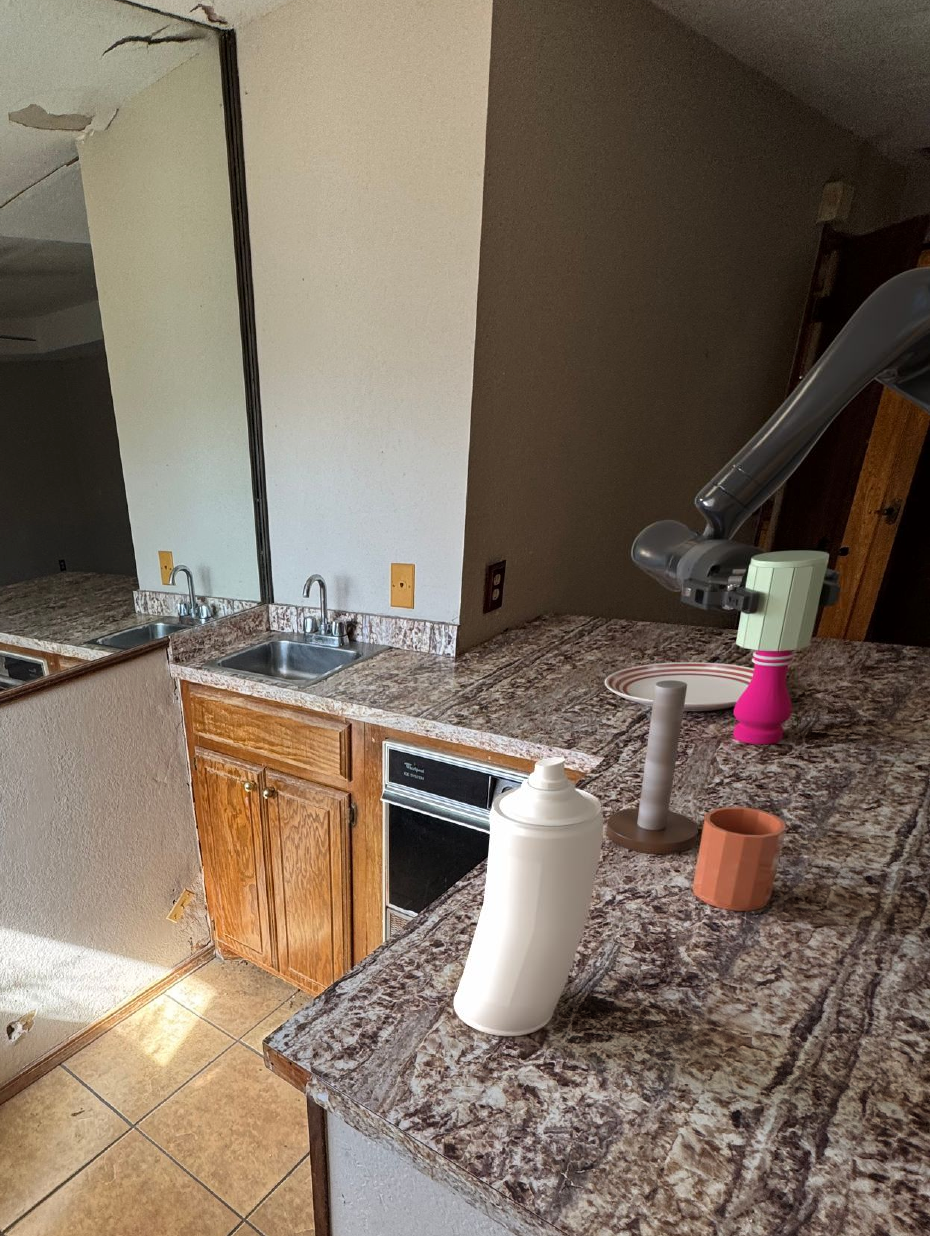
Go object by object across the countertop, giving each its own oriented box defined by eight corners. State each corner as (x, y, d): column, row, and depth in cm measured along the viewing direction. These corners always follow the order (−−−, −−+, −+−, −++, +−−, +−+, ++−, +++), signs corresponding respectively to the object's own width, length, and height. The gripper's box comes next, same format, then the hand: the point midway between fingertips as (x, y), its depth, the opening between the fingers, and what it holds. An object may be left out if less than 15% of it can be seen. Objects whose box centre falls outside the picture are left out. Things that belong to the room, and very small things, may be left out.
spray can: (489, 952, 78) (497, 730, 67) (596, 986, 71) (625, 745, 60) (439, 1015, 71) (438, 777, 60) (553, 1060, 64) (577, 800, 53)
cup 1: (765, 632, 83) (780, 549, 79) (825, 641, 78) (845, 552, 74) (722, 644, 81) (736, 559, 78) (780, 654, 76) (798, 563, 72)
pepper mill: (773, 749, 112) (801, 616, 103) (720, 740, 117) (743, 612, 108) (793, 735, 115) (822, 605, 106) (741, 726, 120) (764, 602, 112)
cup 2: (723, 870, 85) (736, 801, 81) (785, 899, 79) (803, 825, 75) (676, 888, 84) (688, 817, 80) (737, 918, 77) (752, 843, 74)
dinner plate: (596, 677, 152) (597, 661, 150) (754, 672, 142) (758, 655, 141) (612, 723, 129) (614, 705, 128) (801, 720, 119) (806, 701, 118)
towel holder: (647, 811, 100) (666, 667, 91) (715, 839, 91) (744, 683, 83) (588, 830, 98) (603, 684, 89) (653, 862, 89) (676, 703, 80)
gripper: (661, 549, 90) (721, 570, 75) (795, 533, 87) (885, 552, 72) (653, 611, 93) (709, 643, 78) (783, 598, 90) (866, 629, 75)
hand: (793, 600), depth 75 cm, fingers closed on cup 1, 6 cm apart
